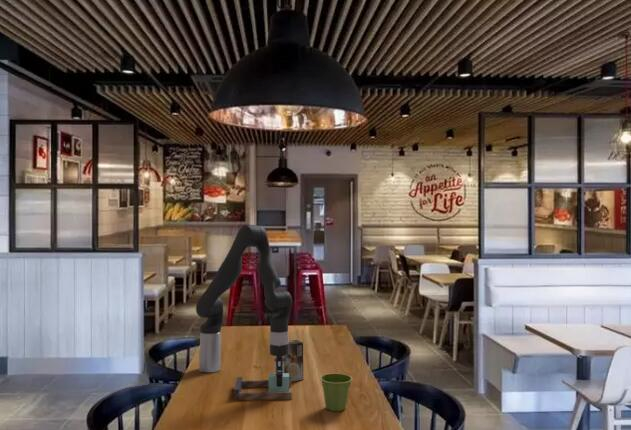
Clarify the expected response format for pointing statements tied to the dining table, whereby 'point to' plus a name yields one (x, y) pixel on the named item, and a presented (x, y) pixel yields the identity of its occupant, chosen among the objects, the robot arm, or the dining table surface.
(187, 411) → the dining table surface
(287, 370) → the coffee box
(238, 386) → the channel
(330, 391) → the plant pot
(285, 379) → the block
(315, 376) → the dining table surface
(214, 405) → the dining table surface
